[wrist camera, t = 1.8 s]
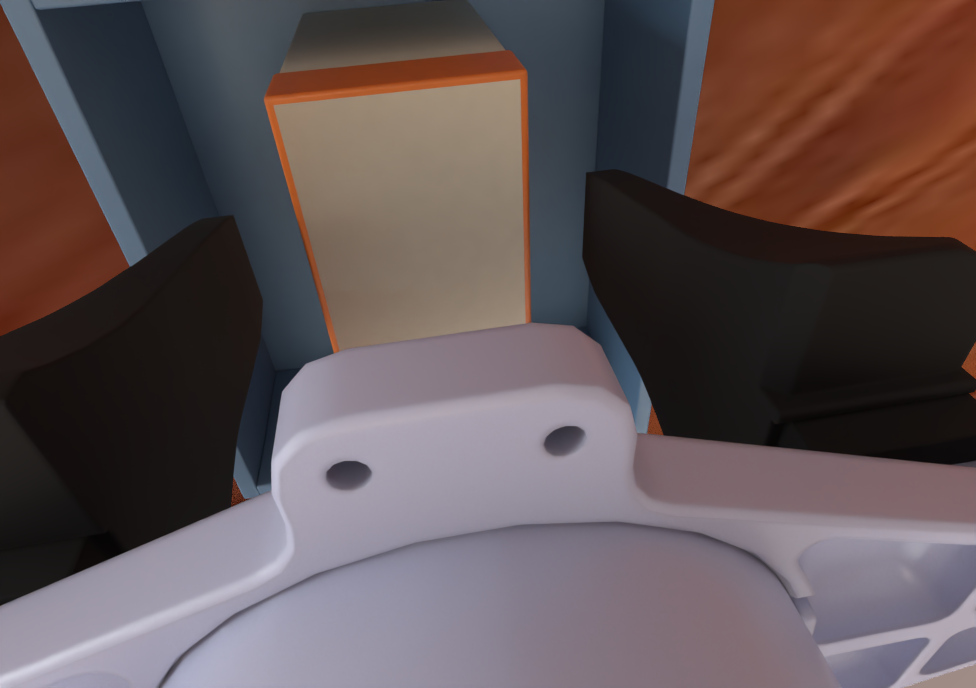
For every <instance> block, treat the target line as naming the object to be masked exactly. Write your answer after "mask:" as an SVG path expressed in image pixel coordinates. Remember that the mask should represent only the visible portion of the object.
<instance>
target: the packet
mask: <svg viewBox="0 0 976 688" xmlns="http://www.w3.org/2000/svg"><path fill="white" fill-rule="evenodd" d="M264 103H265V106H266V110H267V114H268V117H269V121H270V124H271V128H272V132H273V135H274V139H275V142H276V146H277V150H278V153H279V157H280V160H281V164H282V168H283V171H284V175H285V178H286V182H287V186H288V189H289V193H290V197H291V200H292V204H293V207H294V211H295V215H296V218H297V222H298V225H299V229H300V233H301V236H302V240H303V243H304V247H305V251H306V254H307V258H308V261H309V265H310V269H311V272H312V276H313V279H314V283H315V287H316V290H317V294H318V297H319V301H320V305H321V308H322V312H323V315H324V319H325V323H326V326H327V330H328V333H329V337H330V341H331V344H332V348H333V351H334V353H337V352H339V351H342V350H345V349H349V348H356V347H363V346H370V345H377V344H384V343H391V342H398V341H405V340H412V339H420V338H427V337H434V336H441V335H448V334H455V333H462V332H469V331H476V330H483V329H490V328H497V327H504V326H511V325H519V324H526V323H531V276H530V206H529V137H528V73H527V70H526V69H525V67H524V66H523V65H522V64H521V62H520V61H519V60H518V59H517V57H516V56H515V55H514V53H513V52H512V51H510V50H505V49H504V47H503V46H502V45H501V43H500V42H499V41H498V39H497V38H496V37H495V35H494V34H493V33H492V31H491V30H490V29H489V28H488V26H487V25H486V24H485V22H484V21H483V20H482V18H481V17H480V16H479V14H478V13H477V12H476V10H475V9H474V8H473V6H472V5H471V4H470V2H469V1H468V0H443V1H433V2H422V3H411V4H400V5H390V6H379V7H368V8H357V9H347V10H336V11H325V12H314V13H305V14H303V15H302V17H301V19H300V22H299V24H298V27H297V30H296V32H295V35H294V37H293V40H292V42H291V45H290V47H289V50H288V52H287V55H286V57H285V60H284V62H283V65H282V68H281V70H280V73H277V74H275V75H273V77H272V80H271V82H270V85H269V87H268V89H267V92H266V94H265V97H264Z"/></svg>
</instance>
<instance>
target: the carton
mask: <svg viewBox="0 0 976 688" xmlns="http://www.w3.org/2000/svg"><path fill="white" fill-rule="evenodd" d="M433 1H443V0H0V4H1V6H2V8H3V10H4V12H5V14H6V16H7V18H8V20H9V22H10V24H11V26H12V28H13V30H14V32H15V34H16V36H17V38H18V40H19V42H20V44H21V46H22V48H23V50H24V52H25V54H26V57H27V59H28V61H29V63H30V65H31V67H32V69H33V71H34V73H35V75H36V77H37V79H38V81H39V83H40V85H41V87H42V89H43V91H44V93H45V95H46V97H47V99H48V101H49V103H50V105H51V107H52V109H53V111H54V113H55V115H56V117H57V119H58V121H59V123H60V126H61V128H62V130H63V132H64V134H65V136H66V138H67V140H68V142H69V144H70V146H71V148H72V150H73V152H74V154H75V156H76V158H77V160H78V162H79V164H80V166H81V168H82V170H83V172H84V174H85V176H86V178H87V180H88V182H89V184H90V186H91V188H92V190H93V192H94V195H95V197H96V199H97V201H98V203H99V205H100V207H101V209H102V211H103V213H104V215H105V217H106V219H107V221H108V223H109V225H110V227H111V229H112V231H113V233H114V235H115V237H116V239H117V241H118V243H119V245H120V247H121V249H122V251H123V253H124V255H125V257H126V259H127V261H128V264H129V266H130V267H131V266H132V265H134V264H135V263H137V262H138V261H140V260H141V259H142V258H144V257H145V256H147V255H148V254H149V253H151V252H152V251H154V250H155V249H156V248H158V247H159V246H160V245H162V244H163V243H165V242H166V241H167V240H169V239H170V238H171V237H173V236H174V235H176V234H177V233H179V232H180V231H181V230H183V229H184V228H186V227H187V226H189V225H191V224H192V223H194V222H196V221H198V220H200V219H203V218H211V217H219V216H228V215H234V218H235V221H236V224H237V227H238V230H239V233H240V235H241V238H242V241H243V244H244V247H245V250H246V253H247V255H248V258H249V261H250V264H251V267H252V270H253V273H254V276H255V278H256V281H257V284H258V287H259V290H260V293H261V296H262V299H263V311H262V327H261V339H260V343H259V348H258V352H257V357H256V361H255V365H254V369H253V374H252V378H251V382H250V386H249V390H248V394H247V398H246V402H245V406H244V410H243V414H242V418H241V423H240V428H239V433H238V439H237V447H236V456H235V466H234V475H233V477H234V479H235V481H236V483H237V485H238V487H239V489H240V491H241V493H242V495H243V497H244V498H245V499H247V498H253V497H256V496H258V495H261V494H263V493H265V492H268V491H270V490H271V460H272V454H273V447H274V441H275V434H276V428H277V421H278V415H279V408H280V402H281V395H282V391H283V390H284V389H285V387H286V386H287V385H288V384H289V383H290V382H291V380H292V379H293V378H294V377H295V376H296V375H297V373H298V372H299V371H300V370H301V369H302V368H303V366H304V365H305V364H307V363H309V362H312V361H315V360H317V359H320V358H323V357H326V356H328V355H331V354H334V351H333V348H332V344H331V341H330V337H329V333H328V330H327V326H326V323H325V319H324V315H323V312H322V308H321V305H320V301H319V297H318V294H317V290H316V287H315V283H314V279H313V276H312V272H311V269H310V265H309V261H308V258H307V254H306V251H305V247H304V243H303V240H302V236H301V233H300V229H299V225H298V222H297V218H296V215H295V211H294V207H293V204H292V200H291V197H290V193H289V189H288V186H287V182H286V178H285V175H284V171H283V168H282V164H281V160H280V157H279V153H278V150H277V146H276V142H275V139H274V135H273V132H272V128H271V124H270V121H269V117H268V114H267V110H266V106H265V103H264V97H265V94H266V92H267V89H268V87H269V85H270V82H271V80H272V77H273V75H275V74H277V73H280V70H281V68H282V65H283V62H284V60H285V57H286V55H287V52H288V50H289V47H290V45H291V42H292V40H293V37H294V35H295V32H296V30H297V27H298V24H299V22H300V19H301V17H302V15H303V14H305V13H314V12H325V11H336V10H347V9H357V8H368V7H379V6H390V5H400V4H411V3H422V2H433ZM468 1H469V2H470V4H471V5H472V6H473V8H474V9H475V10H476V12H477V13H478V14H479V16H480V17H481V18H482V20H483V21H484V22H485V24H486V25H487V26H488V28H489V29H490V30H491V31H492V33H493V34H494V35H495V37H496V38H497V39H498V41H499V42H500V43H501V45H502V46H503V47H504V49H505V50H510V51H512V52H513V53H514V55H515V56H516V57H517V59H518V60H519V61H520V62H521V64H522V65H523V66H524V67H525V69H526V70H527V73H528V137H529V206H530V276H531V323H545V324H558V325H571V326H574V327H576V328H577V329H579V330H580V331H581V332H583V333H584V334H586V335H587V336H589V337H590V338H591V339H593V340H594V341H596V342H597V343H599V344H600V345H601V347H602V349H603V351H604V353H605V355H606V357H607V359H608V361H609V363H610V365H611V367H612V369H613V371H614V373H615V375H616V377H617V380H618V382H619V384H620V386H621V388H622V390H623V392H624V394H625V396H626V398H627V400H628V402H629V404H630V407H631V411H632V415H633V419H634V423H635V427H636V431H637V433H644V434H646V433H647V430H648V423H649V417H650V411H651V404H652V403H651V400H650V398H649V396H648V393H647V391H646V388H645V386H644V383H643V381H642V378H641V376H640V374H639V372H638V370H637V368H636V366H635V364H634V362H633V361H632V359H631V357H630V355H629V353H628V352H627V350H626V348H625V346H624V345H623V343H622V341H621V339H620V338H619V336H618V334H617V332H616V330H615V329H614V327H613V325H612V323H611V322H610V320H609V318H608V316H607V314H606V313H605V311H604V309H603V307H602V305H601V304H600V302H599V300H598V298H597V296H596V294H595V292H594V290H593V287H592V285H591V282H590V279H589V277H588V274H587V271H586V268H585V265H584V262H583V259H582V248H583V227H584V206H585V185H586V172H594V171H602V170H610V169H617V170H621V171H625V172H628V173H631V174H633V175H636V176H638V177H641V178H643V179H646V180H648V181H651V182H653V183H655V184H658V185H660V186H663V187H665V188H667V189H670V190H672V191H675V192H677V193H679V194H682V195H684V193H685V186H686V180H687V173H688V167H689V161H690V154H691V148H692V141H693V135H694V128H695V122H696V116H697V109H698V103H699V96H700V90H701V84H702V77H703V71H704V64H705V58H706V52H707V45H708V39H709V32H710V26H711V19H712V13H713V7H714V0H468Z"/></svg>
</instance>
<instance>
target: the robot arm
mask: <svg viewBox="0 0 976 688" xmlns="http://www.w3.org/2000/svg"><path fill="white" fill-rule="evenodd" d="M582 259H583V262H584V265H585V268H586V271H587V274H588V277H589V279H590V282H591V285H592V287H593V290H594V292H595V294H596V296H597V298H598V300H599V302H600V304H601V305H602V307H603V309H604V311H605V313H606V314H607V316H608V318H609V320H610V322H611V323H612V325H613V327H614V329H615V330H616V332H617V334H618V336H619V338H620V339H621V341H622V343H623V345H624V346H625V348H626V350H627V352H628V353H629V355H630V357H631V359H632V361H633V362H634V364H635V366H636V368H637V370H638V372H639V374H640V376H641V378H642V381H643V383H644V386H645V388H646V391H647V393H648V396H649V398H650V400H651V403H652V405H653V408H654V410H655V413H656V415H657V418H658V421H659V423H660V426H661V429H662V431H663V434H664V435H654V434H644V433H637V431H636V427H635V423H634V419H633V415H632V411H631V407H630V404H629V402H628V400H627V398H626V396H625V394H624V392H623V390H622V388H621V386H620V384H619V382H618V380H617V377H616V375H615V373H614V371H613V369H612V367H611V365H610V363H609V361H608V359H607V357H606V355H605V353H604V351H603V349H602V347H601V345H600V344H599V343H597V342H596V341H594V340H593V339H591V338H590V337H589V336H587V335H586V334H584V333H583V332H581V331H580V330H579V329H577V328H576V327H574V326H571V325H558V324H545V323H526V324H519V325H511V326H504V327H497V328H490V329H483V330H476V331H469V332H462V333H455V334H448V335H441V336H434V337H427V338H420V339H412V340H405V341H398V342H391V343H384V344H377V345H370V346H363V347H356V348H349V349H345V350H342V351H339V352H337V353H334V354H331V355H328V356H326V357H323V358H320V359H317V360H315V361H312V362H309V363H307V364H305V365H304V366H303V368H302V369H301V370H300V371H299V372H298V373H297V375H296V376H295V377H294V378H293V379H292V380H291V382H290V383H289V384H288V385H287V386H286V387H285V389H284V390H283V391H282V395H281V402H280V408H279V415H278V421H277V428H276V434H275V441H274V447H273V454H272V460H271V490H270V491H268V492H265V493H263V494H261V495H258V496H256V497H254V498H251V499H249V500H247V501H244V502H242V503H240V504H237V505H235V506H233V507H231V499H232V486H233V475H234V466H235V456H236V447H237V439H238V433H239V428H240V423H241V418H242V414H243V410H244V406H245V402H246V398H247V394H248V390H249V386H250V382H251V378H252V374H253V369H254V365H255V361H256V357H257V352H258V348H259V343H260V339H261V327H262V311H263V299H262V296H261V293H260V290H259V287H258V284H257V281H256V278H255V276H254V273H253V270H252V267H251V264H250V261H249V258H248V255H247V253H246V250H245V247H244V244H243V241H242V238H241V235H240V233H239V230H238V227H237V224H236V221H235V218H234V215H228V216H219V217H211V218H203V219H200V220H198V221H196V222H194V223H192V224H191V225H189V226H187V227H186V228H184V229H183V230H181V231H180V232H179V233H177V234H176V235H174V236H173V237H171V238H170V239H169V240H167V241H166V242H165V243H163V244H162V245H160V246H159V247H158V248H156V249H155V250H154V251H152V252H151V253H149V254H148V255H147V256H145V257H144V258H142V259H141V260H140V261H138V262H137V263H135V264H134V265H132V266H131V267H129V268H128V269H126V270H125V271H123V272H122V273H120V274H119V275H117V276H116V277H114V278H113V279H111V280H110V281H108V282H107V283H105V284H104V285H102V286H100V287H99V288H97V289H95V290H94V291H92V292H90V293H89V294H87V295H85V296H83V297H82V298H80V299H78V300H76V301H74V302H73V303H71V304H69V305H67V306H65V307H63V308H61V309H59V310H57V311H56V312H54V313H52V314H50V315H47V316H45V317H43V318H41V319H39V320H37V321H34V322H32V323H30V324H27V325H25V326H23V327H21V328H18V329H16V330H14V331H11V332H9V333H7V334H5V335H2V336H0V688H903V687H906V686H910V685H913V684H916V683H919V682H922V681H925V680H928V679H931V678H934V677H937V676H940V675H943V674H946V673H949V672H953V671H955V670H959V669H962V668H965V667H968V666H971V665H974V664H976V399H974V398H973V397H972V396H971V395H970V394H969V393H972V392H974V391H975V390H976V379H975V378H974V377H972V376H971V375H970V374H969V373H968V372H967V371H965V370H964V369H963V368H962V367H961V366H962V364H963V363H964V361H965V359H966V357H967V356H968V354H969V352H970V350H971V349H972V347H973V345H974V343H975V342H976V251H974V250H973V249H971V248H970V247H968V246H966V245H965V244H963V243H962V242H960V241H959V240H957V239H955V238H951V237H893V236H872V235H859V234H847V233H837V232H828V231H820V230H813V229H807V228H801V227H795V226H788V225H783V224H778V223H773V222H768V221H764V220H760V219H756V218H752V217H748V216H744V215H740V214H737V213H733V212H730V211H727V210H723V209H720V208H718V207H715V206H712V205H709V204H706V203H703V202H700V201H697V200H695V199H692V198H690V197H687V196H684V195H682V194H679V193H677V192H675V191H672V190H670V189H667V188H665V187H663V186H660V185H658V184H655V183H653V182H651V181H648V180H646V179H643V178H641V177H638V176H636V175H633V174H631V173H628V172H625V171H621V170H617V169H610V170H602V171H594V172H586V185H585V206H584V227H583V248H582Z"/></svg>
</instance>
